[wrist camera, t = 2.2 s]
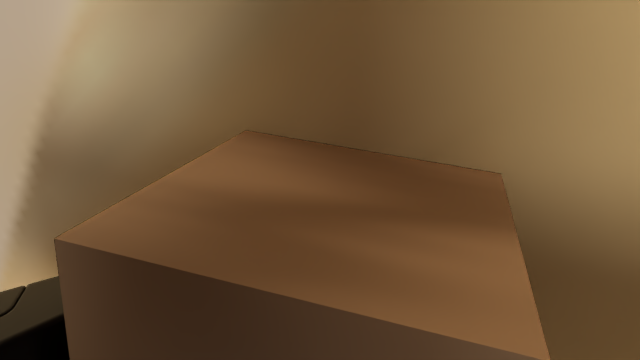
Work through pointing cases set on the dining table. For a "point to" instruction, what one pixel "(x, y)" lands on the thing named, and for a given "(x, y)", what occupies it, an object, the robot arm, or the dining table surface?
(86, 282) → the walnut cube
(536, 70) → the dining table surface
